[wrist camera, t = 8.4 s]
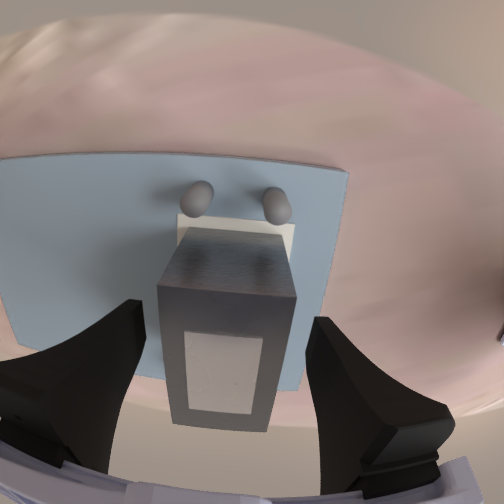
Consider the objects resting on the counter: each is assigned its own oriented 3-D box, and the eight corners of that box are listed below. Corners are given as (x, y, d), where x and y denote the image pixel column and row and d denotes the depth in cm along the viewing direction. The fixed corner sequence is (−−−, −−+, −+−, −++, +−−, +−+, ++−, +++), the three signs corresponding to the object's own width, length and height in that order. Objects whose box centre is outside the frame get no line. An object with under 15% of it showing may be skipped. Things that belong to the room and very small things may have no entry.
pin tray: (342, 169, 13) (365, 182, 10) (295, 379, 18) (300, 416, 16) (-13, 160, 12) (-46, 171, 10) (24, 336, 18) (5, 360, 15)
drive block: (281, 234, 13) (297, 299, 8) (263, 356, 16) (266, 434, 11) (188, 226, 13) (155, 286, 8) (189, 349, 16) (172, 425, 11)
